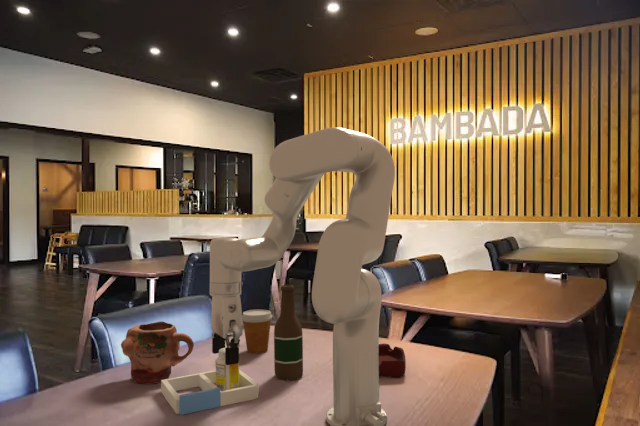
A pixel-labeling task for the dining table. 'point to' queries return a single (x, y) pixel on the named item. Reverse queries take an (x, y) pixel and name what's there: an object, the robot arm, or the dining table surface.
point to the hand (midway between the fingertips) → (225, 358)
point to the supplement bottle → (226, 373)
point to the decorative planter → (154, 351)
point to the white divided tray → (206, 392)
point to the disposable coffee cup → (257, 330)
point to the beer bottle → (288, 339)
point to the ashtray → (391, 361)
